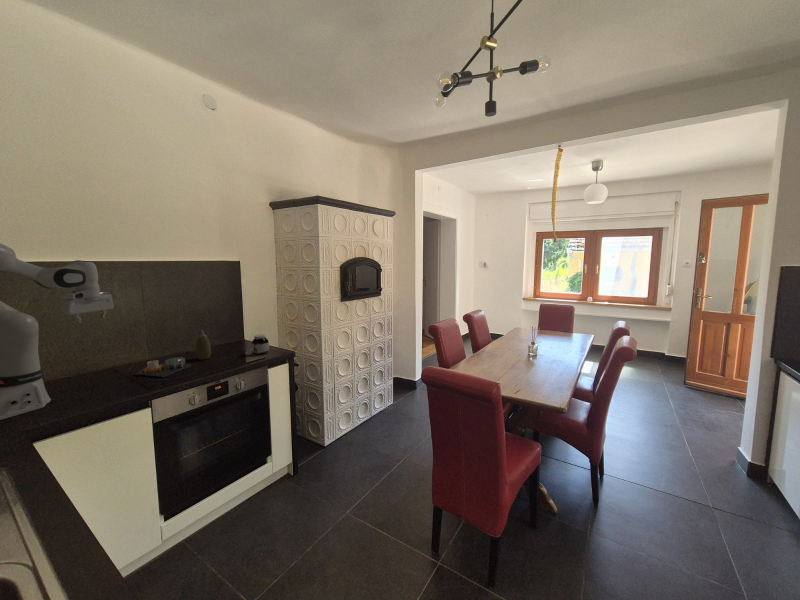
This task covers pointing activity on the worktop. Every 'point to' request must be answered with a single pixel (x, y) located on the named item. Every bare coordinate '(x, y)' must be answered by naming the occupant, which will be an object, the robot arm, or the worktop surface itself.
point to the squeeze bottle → (203, 346)
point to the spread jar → (258, 345)
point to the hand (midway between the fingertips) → (91, 320)
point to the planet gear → (153, 367)
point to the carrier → (168, 367)
